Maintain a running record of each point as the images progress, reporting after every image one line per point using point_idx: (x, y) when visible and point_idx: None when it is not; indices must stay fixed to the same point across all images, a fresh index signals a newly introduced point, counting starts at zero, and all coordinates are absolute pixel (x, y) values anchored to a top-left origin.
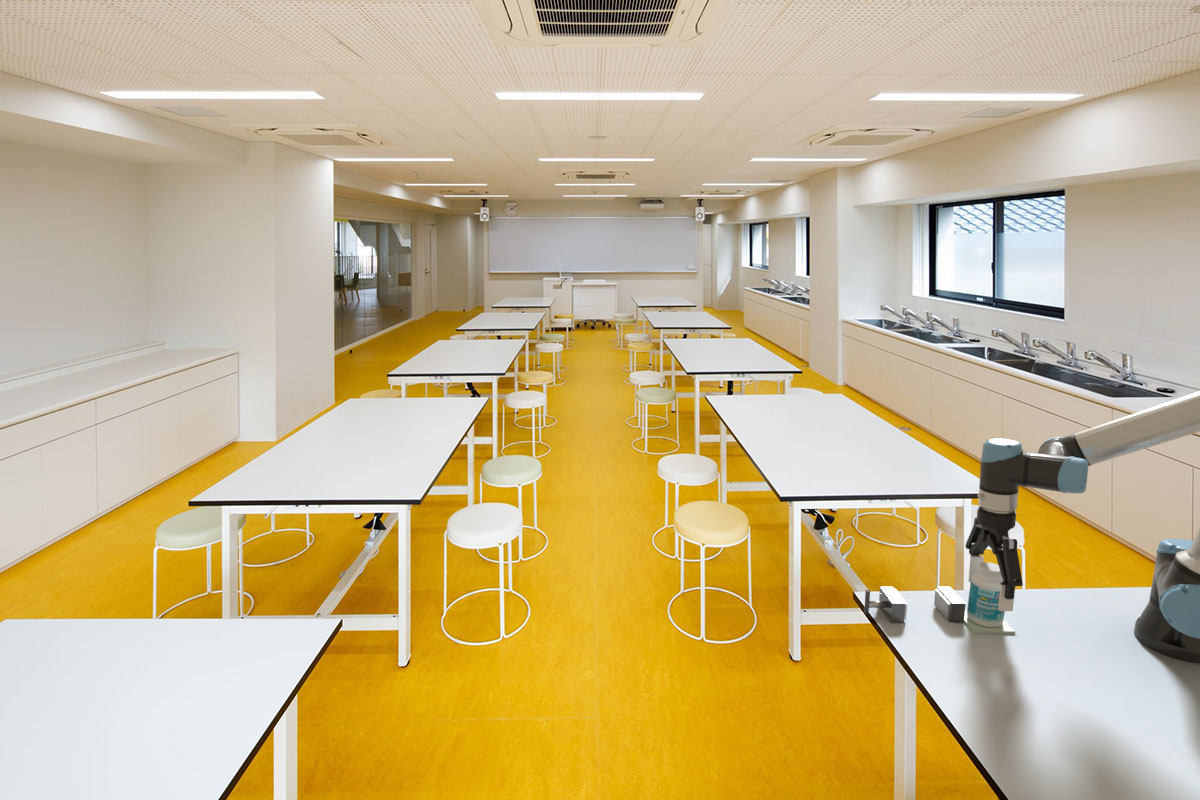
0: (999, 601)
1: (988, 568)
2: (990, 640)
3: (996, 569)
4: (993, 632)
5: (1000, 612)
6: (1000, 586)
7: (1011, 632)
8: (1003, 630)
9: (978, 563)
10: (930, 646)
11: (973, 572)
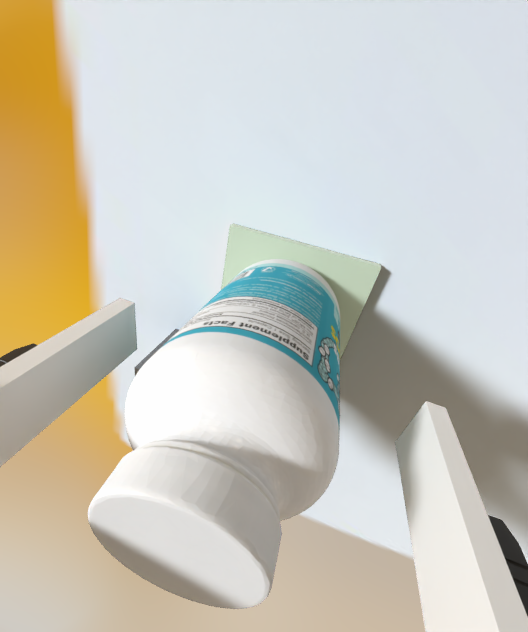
0: (408, 490)
1: (202, 587)
2: (378, 366)
3: (227, 569)
4: (350, 333)
5: (339, 341)
6: (426, 619)
7: (375, 280)
8: (359, 303)
9: (37, 395)
10: (343, 487)
11: (96, 372)
